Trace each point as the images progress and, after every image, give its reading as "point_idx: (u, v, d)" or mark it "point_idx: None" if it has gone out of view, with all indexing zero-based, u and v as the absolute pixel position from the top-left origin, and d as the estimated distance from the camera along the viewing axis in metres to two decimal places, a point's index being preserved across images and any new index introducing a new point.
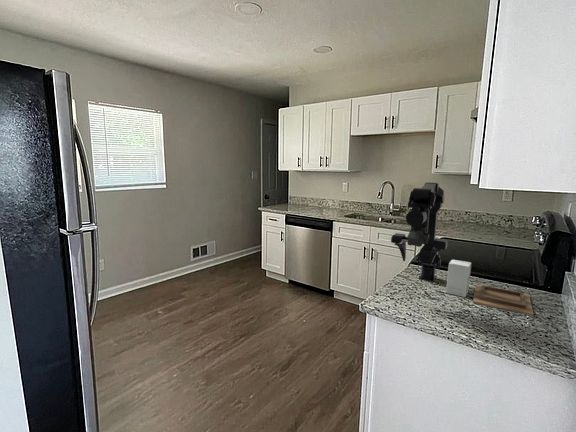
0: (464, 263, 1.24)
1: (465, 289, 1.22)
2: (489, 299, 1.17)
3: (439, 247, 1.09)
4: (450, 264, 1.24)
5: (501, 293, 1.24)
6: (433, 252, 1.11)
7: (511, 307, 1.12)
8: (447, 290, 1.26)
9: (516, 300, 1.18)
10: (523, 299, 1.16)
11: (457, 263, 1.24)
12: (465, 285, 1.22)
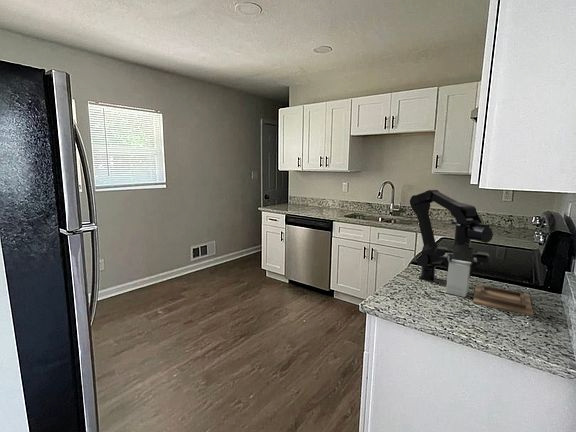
0: (464, 263, 1.24)
1: (465, 289, 1.22)
2: (489, 299, 1.17)
3: (482, 260, 1.18)
4: (450, 264, 1.24)
5: (501, 293, 1.24)
6: (474, 264, 1.21)
7: (511, 307, 1.12)
8: (447, 290, 1.26)
9: (516, 300, 1.18)
10: (523, 299, 1.16)
11: (457, 263, 1.24)
12: (465, 285, 1.22)
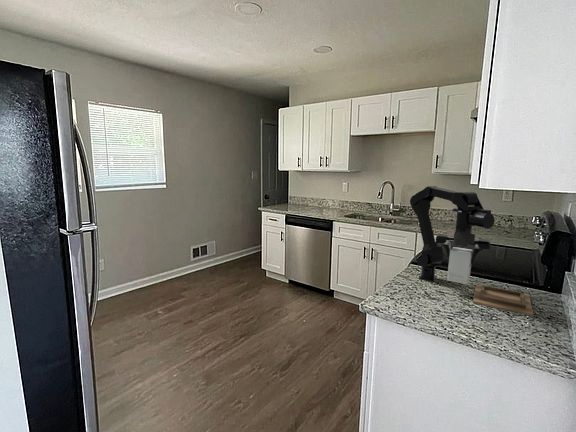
0: (465, 250, 1.23)
1: (466, 276, 1.21)
2: (489, 299, 1.17)
3: (484, 247, 1.17)
4: (451, 251, 1.23)
5: (501, 293, 1.24)
6: (475, 251, 1.20)
7: (511, 307, 1.12)
8: (448, 277, 1.25)
9: (516, 300, 1.18)
10: (523, 299, 1.16)
11: (458, 250, 1.23)
12: (466, 272, 1.21)
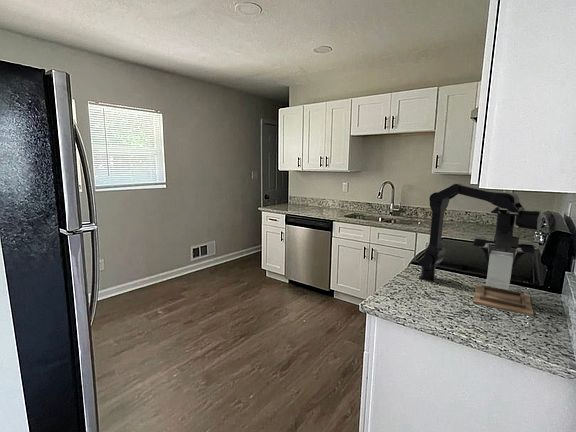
0: (506, 254, 1.17)
1: (508, 281, 1.15)
2: (489, 299, 1.17)
3: (528, 250, 1.11)
4: (491, 255, 1.17)
5: (501, 293, 1.24)
6: (518, 255, 1.14)
7: (511, 307, 1.12)
8: (488, 282, 1.19)
9: (516, 300, 1.18)
10: (523, 299, 1.16)
11: (499, 254, 1.17)
12: (508, 277, 1.15)
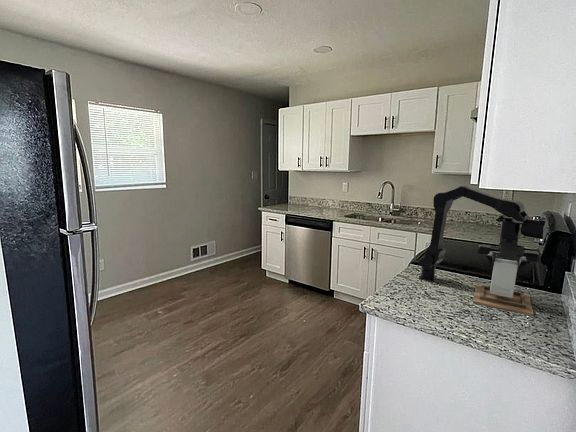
0: (510, 262, 1.17)
1: (512, 290, 1.15)
2: (489, 299, 1.17)
3: (532, 259, 1.11)
4: (496, 263, 1.17)
5: None
6: (522, 263, 1.14)
7: (511, 307, 1.12)
8: (491, 290, 1.19)
9: (516, 300, 1.18)
10: (523, 299, 1.16)
11: (503, 262, 1.17)
12: (512, 285, 1.15)
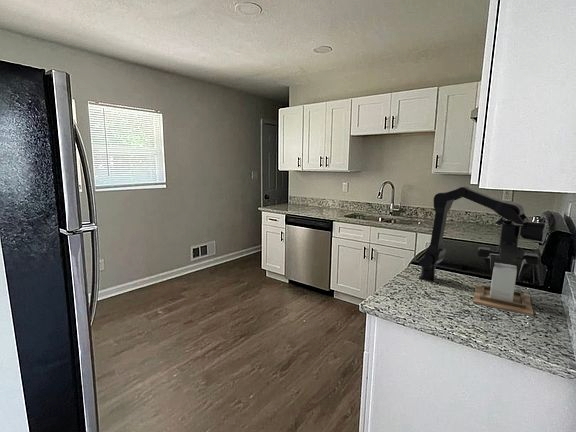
0: (510, 267, 1.17)
1: (512, 294, 1.15)
2: (489, 299, 1.17)
3: (532, 262, 1.11)
4: (495, 268, 1.17)
5: None
6: (524, 266, 1.14)
7: (511, 307, 1.12)
8: (491, 295, 1.19)
9: (516, 300, 1.18)
10: (523, 299, 1.16)
11: (502, 267, 1.17)
12: (512, 290, 1.15)
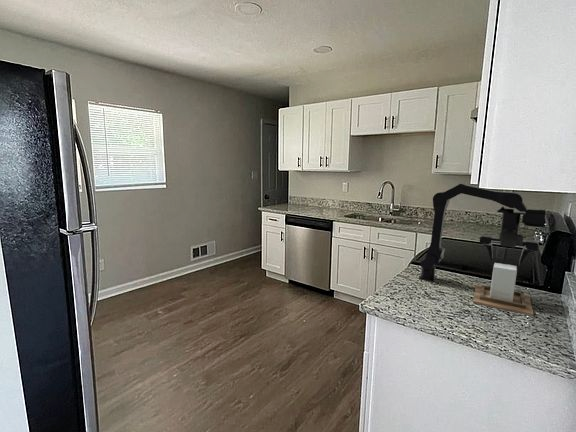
0: (510, 267, 1.17)
1: (512, 294, 1.15)
2: (489, 299, 1.17)
3: (532, 248, 1.16)
4: (495, 268, 1.17)
5: None
6: (524, 253, 1.18)
7: (511, 307, 1.12)
8: (491, 295, 1.19)
9: (516, 300, 1.18)
10: (523, 299, 1.16)
11: (502, 267, 1.17)
12: (512, 290, 1.15)
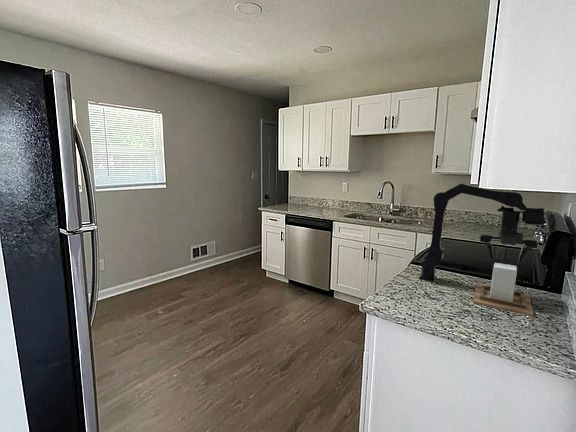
0: (510, 267, 1.17)
1: (512, 294, 1.15)
2: (489, 299, 1.17)
3: (531, 246, 1.19)
4: (495, 268, 1.17)
5: None
6: (524, 250, 1.21)
7: (511, 307, 1.12)
8: (491, 295, 1.19)
9: (516, 300, 1.18)
10: (523, 299, 1.16)
11: (502, 267, 1.17)
12: (512, 290, 1.15)
